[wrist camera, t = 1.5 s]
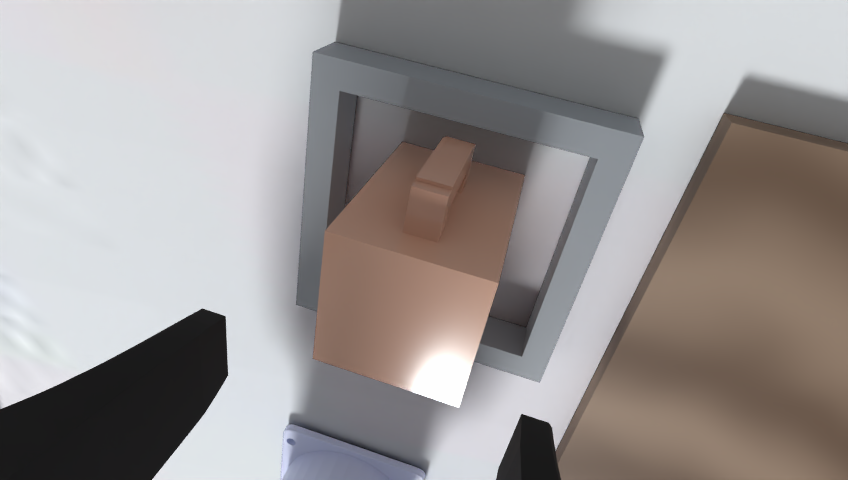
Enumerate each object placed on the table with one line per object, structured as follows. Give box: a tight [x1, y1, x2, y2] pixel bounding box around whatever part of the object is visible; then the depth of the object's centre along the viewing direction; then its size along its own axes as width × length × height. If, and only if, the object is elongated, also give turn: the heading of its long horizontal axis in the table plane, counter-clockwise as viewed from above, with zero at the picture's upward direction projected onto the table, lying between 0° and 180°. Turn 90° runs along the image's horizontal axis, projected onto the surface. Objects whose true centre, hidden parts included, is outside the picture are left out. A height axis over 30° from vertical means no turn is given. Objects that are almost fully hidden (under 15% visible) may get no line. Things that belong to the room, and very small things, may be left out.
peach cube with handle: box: [313, 136, 525, 407], centre depth 17 cm, size 6×5×7 cm
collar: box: [296, 42, 644, 383], centre depth 20 cm, size 10×10×2 cm
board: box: [556, 113, 848, 480], centre depth 21 cm, size 20×12×1 cm, turn 170°
